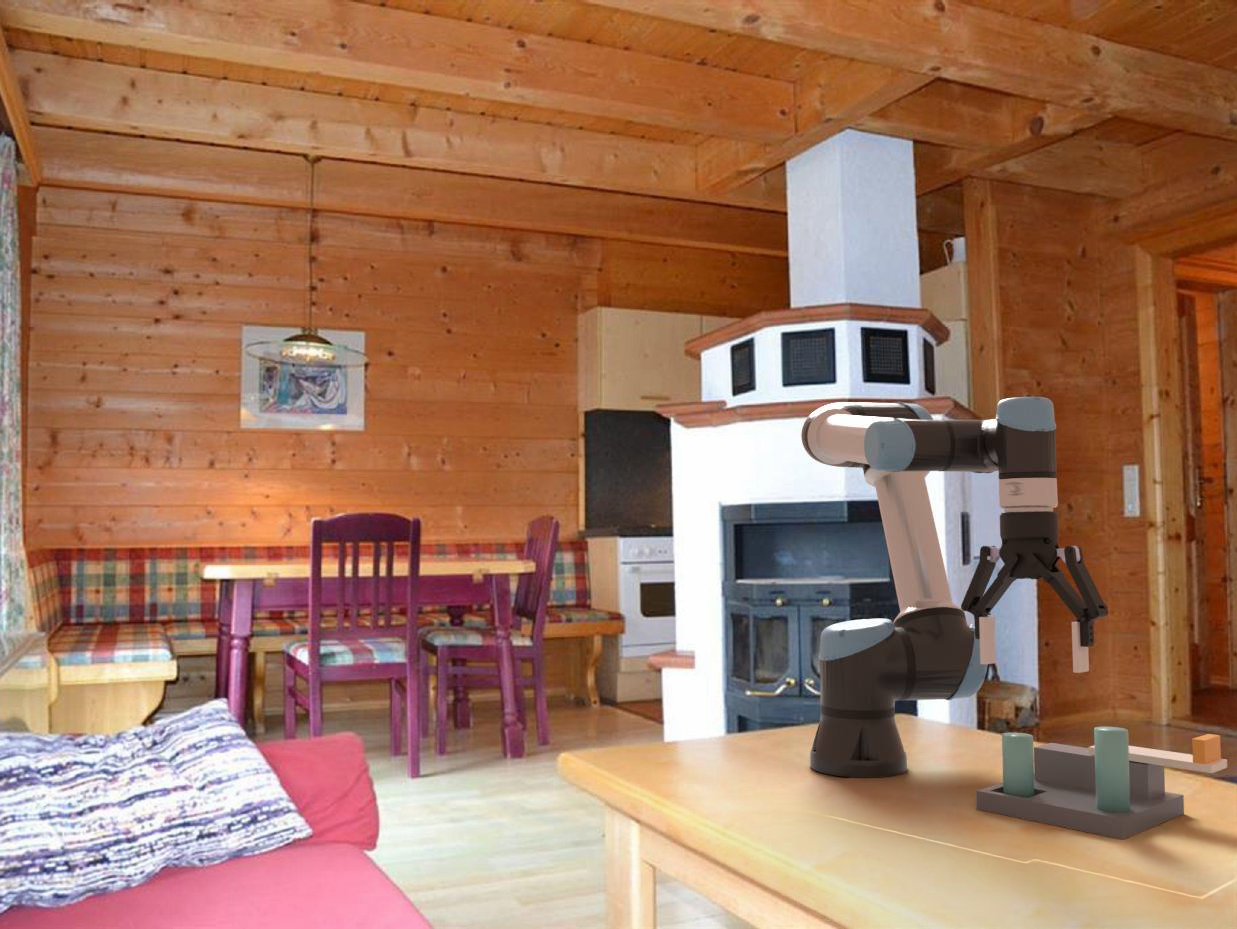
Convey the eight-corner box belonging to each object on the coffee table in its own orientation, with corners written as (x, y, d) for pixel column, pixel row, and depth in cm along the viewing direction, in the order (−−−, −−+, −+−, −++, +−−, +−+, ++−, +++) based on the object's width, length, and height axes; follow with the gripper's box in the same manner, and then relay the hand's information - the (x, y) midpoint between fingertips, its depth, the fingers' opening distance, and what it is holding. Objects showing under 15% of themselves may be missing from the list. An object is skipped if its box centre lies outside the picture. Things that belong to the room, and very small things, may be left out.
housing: (976, 809, 155) (974, 716, 156) (1042, 788, 167) (1040, 702, 168) (1122, 839, 140) (1120, 736, 141) (1184, 813, 152) (1181, 719, 153)
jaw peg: (1013, 804, 158) (1011, 731, 158) (1040, 809, 155) (1038, 735, 155) (997, 809, 155) (996, 735, 155) (1025, 815, 152) (1023, 739, 152)
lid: (1088, 754, 156) (1087, 724, 156) (1105, 749, 159) (1104, 720, 159) (1211, 773, 144) (1210, 741, 144) (1227, 767, 147) (1226, 736, 148)
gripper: (934, 512, 163) (937, 662, 161) (1103, 508, 144) (1109, 678, 142) (963, 512, 168) (967, 658, 166) (1131, 508, 149) (1137, 673, 147)
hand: (1033, 667), depth 154 cm, fingers open, 13 cm apart
